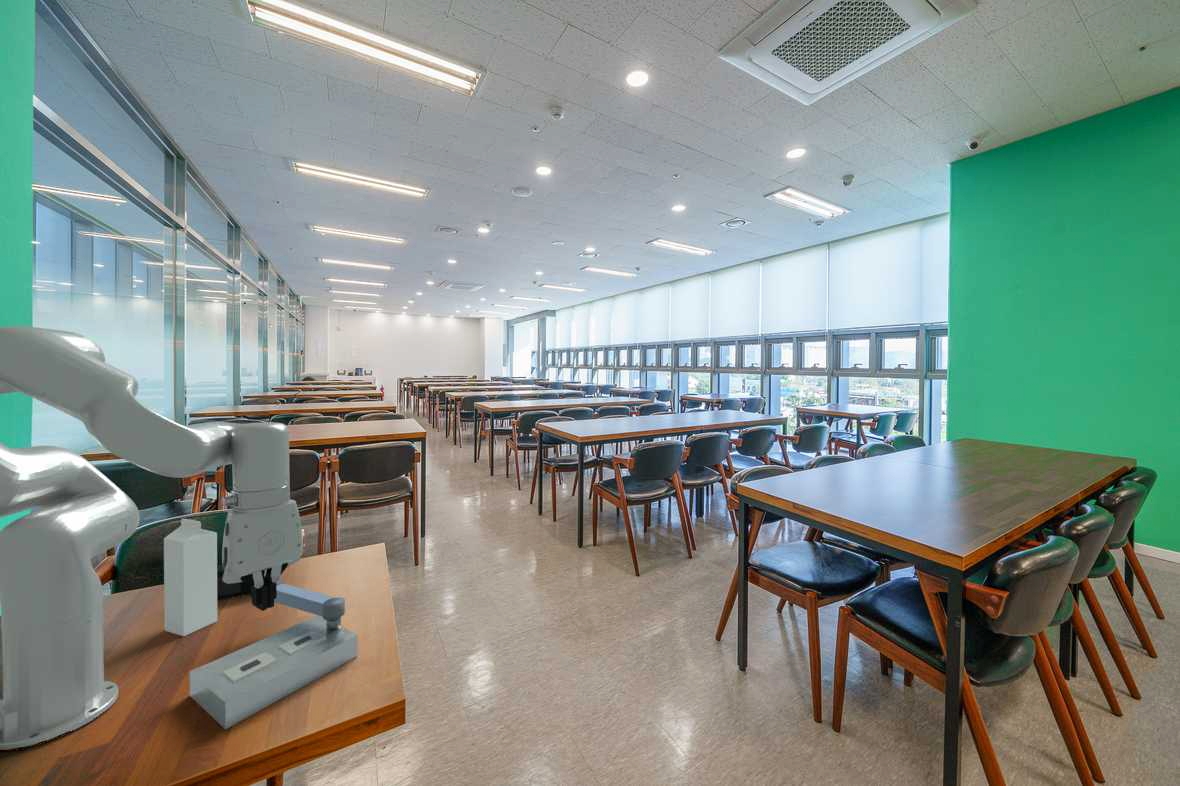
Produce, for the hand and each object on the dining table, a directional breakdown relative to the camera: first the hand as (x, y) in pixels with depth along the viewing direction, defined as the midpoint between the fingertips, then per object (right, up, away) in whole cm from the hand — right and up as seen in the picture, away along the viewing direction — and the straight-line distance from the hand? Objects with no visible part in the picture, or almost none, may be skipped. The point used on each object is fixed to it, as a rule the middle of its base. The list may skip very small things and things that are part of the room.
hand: (264, 606), depth 73 cm
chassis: (0, -13, +3) cm, 14 cm away
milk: (-28, -13, +17) cm, 35 cm away
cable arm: (-2, -7, +13) cm, 15 cm away
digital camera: (-28, -12, +31) cm, 44 cm away
